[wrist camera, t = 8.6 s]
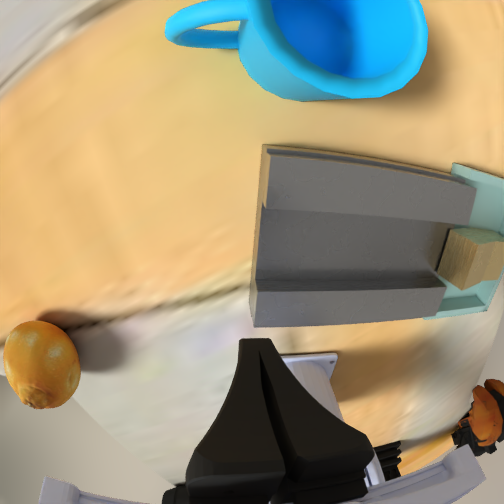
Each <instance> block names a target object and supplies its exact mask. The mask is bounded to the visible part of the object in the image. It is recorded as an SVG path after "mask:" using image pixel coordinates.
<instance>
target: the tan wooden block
mask: <svg viewBox="0 0 504 504" xmlns="http://www.w3.org/2000/svg"><path fill="white" fill-rule="evenodd" d="M470 228H471V227H470ZM472 229H474V230H476V231H478V232H480V233H482V234H483V235H485V236H487V237H489V238H491V239H493V240H494V241H496V242H495V245H494V248H493V251H492V254H491V257H490V260H489V262H488V265H487V268H486V271H485V273H484V276H483V278H482V281H489V280H498V279H499V276H500V274H501V271H502V269H503V266H504V237H502V236H501V235H499V234H498V233H496V232H495V231H493V230H487V229H479V228H472Z"/></svg>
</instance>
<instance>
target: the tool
mask: <svg viewBox="0 0 504 504" xmlns="http://www.w3.org/2000/svg"><path fill="white" fill-rule="evenodd" d="M484 386H485V388H484V387H482V386H480V385H477V386H476V387H475V389H474V390H473V398H474V401H473V402H472V403H471V406H472V409H471V410H470V411H469V414H470V415H469V416H468V417H467V418H465V419H462V420H460V421H459V422H458V424H459V427H460V429H458V430H457V431H455V432H454V433H453V434H451V435H452V438H453V441H454V445H458V446H457V448H456V449H458V448H460V447H462V446H464V445H466V444H468V445H469V446H470V448H471V450H472V452H473V454H474V456H475V457H476V456H480V455H482V454H483V453H485V452H487V453H489V454H492V453H493V452H495V451H496V450H497V448H496V446H495V442H496V440H497V441H498V442H501V441H503V440H504V383H503V382H501V381H499V380H495V379H487V380H486V381H485V383H484ZM456 449H455V450H456Z"/></svg>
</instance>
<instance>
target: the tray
mask: <svg viewBox="0 0 504 504" xmlns="http://www.w3.org/2000/svg"><path fill="white" fill-rule="evenodd" d="M451 174H452V175H455V176H457V177H460V178H462V179H464V180H466V182H465V183H466V184H468V185H470V186H473V187H475V188H477V192H476V197H475V201H474V205H473V209H472V213H471V217H470V220H469V224H468V225H460V224H455V227H454V229H461V228H470V227H471V228H479V229H487V230H493V231H495V232H496V233H498V234H499V235H501V236H502V237H504V178H501V177H498V176H495V175H492V174H489V173H486V172H483V171H480V170H477V169H473V168H470V167H467V166H463V165H460V164H457V163H453V165H452V171H451ZM503 272H504V266H503V269H502V271H501V274H500V276H499V279H498V280H489V281H481V282H480V283H478V284H476V285H474V286H472V287H469V288H467V289H465V290H463V291H461V290H460V289H459V288H457V287H456V286H454V285H453V284H451V283H450V282H448V281H447V280H445V279H444V278H442V277H441V276H439V277H438V278H439V279H440V280H441V281H442V282H443V283H444V284H445V285H446V286H447V289H446V292H445V294H444V297H443V299H442V302H441V304H440V306H439V309H438V311H437V313H436V316H432V317H423V319H424V320H429V319H437V318H444V317H452V316H459V315H465V314H472V313H478V312H484V311H487V309H488V307H489V305H490V303H491V300H492V298H493V296H494V294H495V291H496V289H497V287H498V284H499V282H500V279H501V277H502V274H503Z"/></svg>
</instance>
